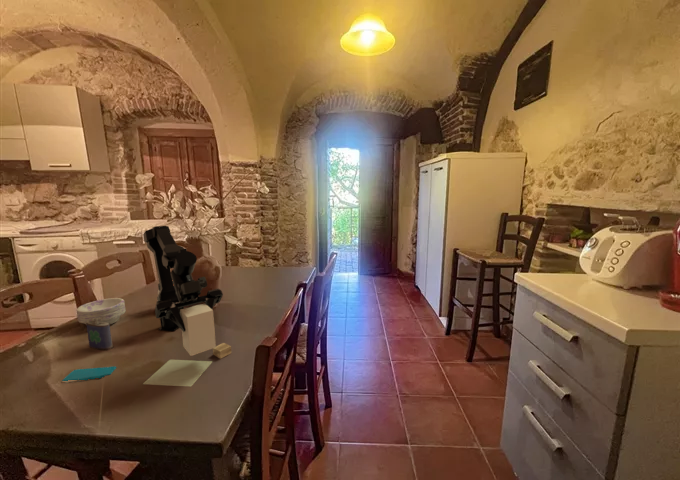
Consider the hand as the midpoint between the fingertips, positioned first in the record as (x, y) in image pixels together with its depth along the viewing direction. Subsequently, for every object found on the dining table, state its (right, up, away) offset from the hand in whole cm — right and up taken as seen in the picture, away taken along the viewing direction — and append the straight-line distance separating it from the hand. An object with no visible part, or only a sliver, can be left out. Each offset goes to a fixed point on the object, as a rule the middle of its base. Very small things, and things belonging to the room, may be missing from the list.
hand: (198, 327), depth 91 cm
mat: (-4, -13, -2) cm, 14 cm away
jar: (-34, -5, +46) cm, 57 cm away
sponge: (-30, -14, -3) cm, 33 cm away
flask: (-39, -11, +13) cm, 43 cm away
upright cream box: (0, -6, +1) cm, 7 cm away
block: (+4, -12, +8) cm, 14 cm away
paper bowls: (-53, -7, +31) cm, 62 cm away
